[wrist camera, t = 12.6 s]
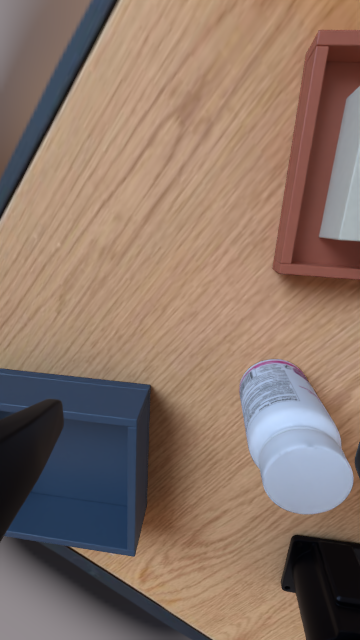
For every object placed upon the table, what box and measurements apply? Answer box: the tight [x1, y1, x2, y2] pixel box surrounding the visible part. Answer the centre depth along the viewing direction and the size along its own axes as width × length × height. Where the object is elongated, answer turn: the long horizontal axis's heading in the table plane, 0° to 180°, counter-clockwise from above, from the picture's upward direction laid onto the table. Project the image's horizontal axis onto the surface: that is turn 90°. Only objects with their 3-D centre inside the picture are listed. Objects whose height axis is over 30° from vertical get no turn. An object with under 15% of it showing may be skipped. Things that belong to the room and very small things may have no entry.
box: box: [0, 369, 151, 556], centre depth 23 cm, size 12×14×4 cm
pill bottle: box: [240, 359, 353, 514], centre depth 17 cm, size 5×5×8 cm
